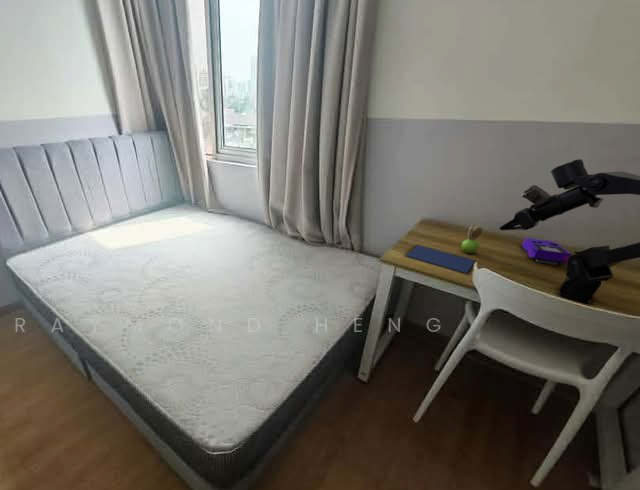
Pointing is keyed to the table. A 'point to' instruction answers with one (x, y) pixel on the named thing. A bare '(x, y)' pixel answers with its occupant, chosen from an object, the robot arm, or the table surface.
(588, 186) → the robot arm
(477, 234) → the snail figurine
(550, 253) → the handheld gaming console
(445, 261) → the navy cloth
